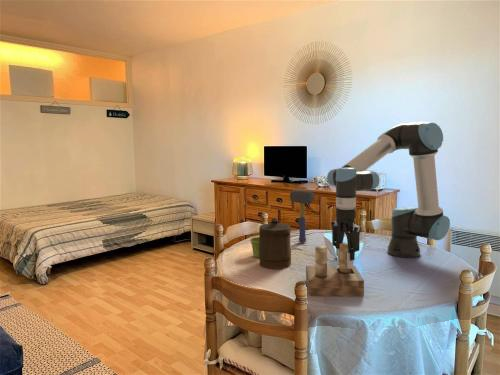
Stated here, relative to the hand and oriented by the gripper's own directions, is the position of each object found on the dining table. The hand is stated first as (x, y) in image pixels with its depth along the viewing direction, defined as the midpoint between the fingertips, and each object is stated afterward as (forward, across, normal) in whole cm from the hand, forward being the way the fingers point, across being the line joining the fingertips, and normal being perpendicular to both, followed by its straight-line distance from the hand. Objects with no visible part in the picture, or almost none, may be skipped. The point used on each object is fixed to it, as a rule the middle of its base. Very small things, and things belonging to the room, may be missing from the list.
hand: (345, 265), depth 147 cm
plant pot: (+8, -52, -6) cm, 53 cm away
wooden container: (+8, -38, -6) cm, 39 cm away
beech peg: (+5, 0, 0) cm, 5 cm away
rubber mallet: (+8, -57, +27) cm, 64 cm away
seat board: (+8, -1, -5) cm, 10 cm away
